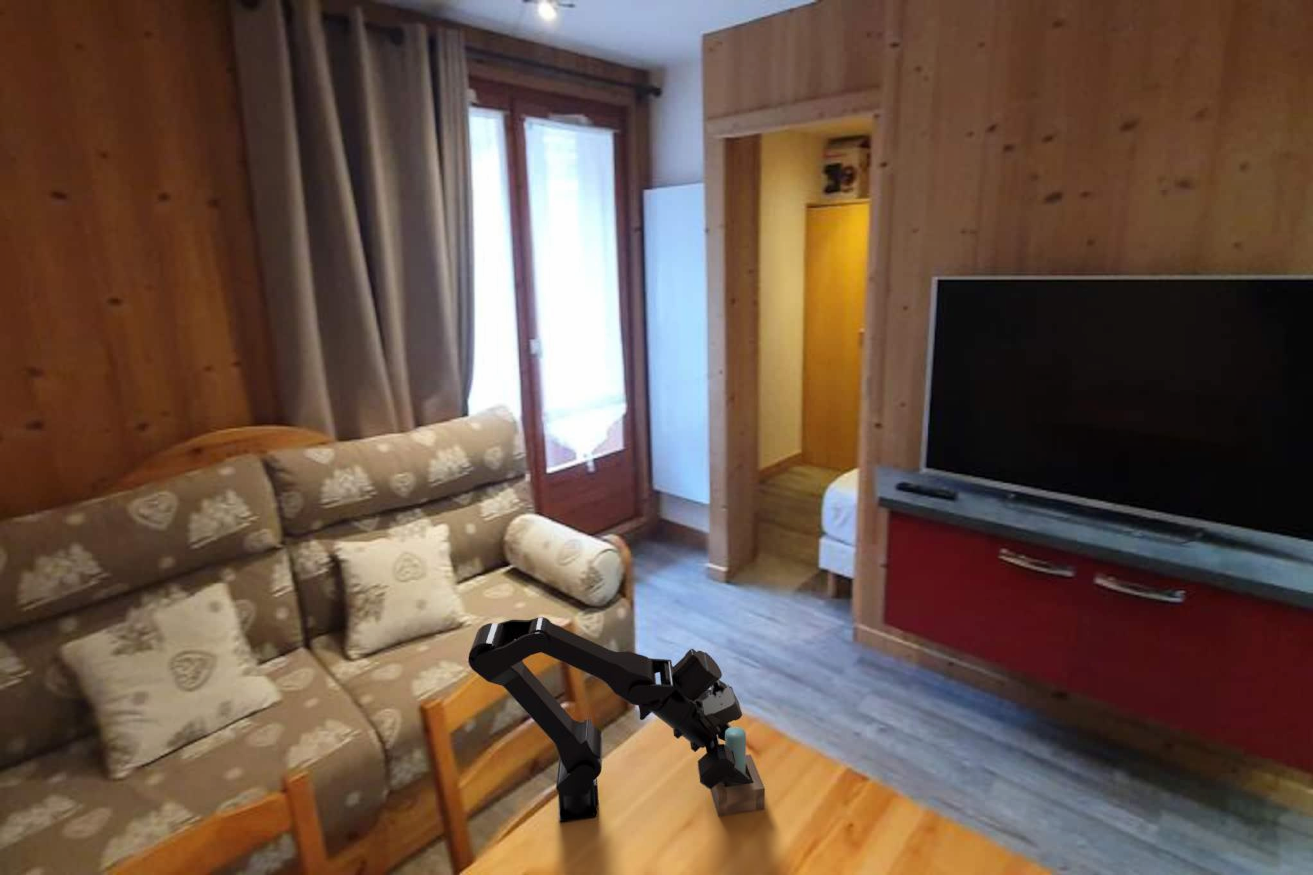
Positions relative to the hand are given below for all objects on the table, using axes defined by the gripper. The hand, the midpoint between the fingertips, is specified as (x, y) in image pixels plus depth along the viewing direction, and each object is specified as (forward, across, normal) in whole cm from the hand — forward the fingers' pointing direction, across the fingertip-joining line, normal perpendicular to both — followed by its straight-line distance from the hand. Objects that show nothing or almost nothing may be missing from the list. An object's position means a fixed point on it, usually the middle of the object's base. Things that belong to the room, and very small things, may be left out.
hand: (743, 761), depth 119 cm
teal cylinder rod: (+4, 0, +6) cm, 7 cm away
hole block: (+4, 0, +6) cm, 7 cm away
